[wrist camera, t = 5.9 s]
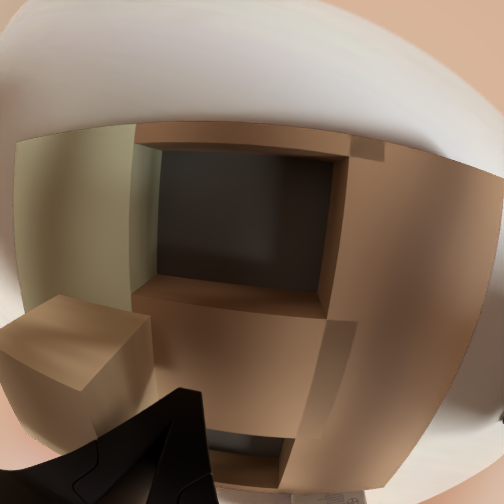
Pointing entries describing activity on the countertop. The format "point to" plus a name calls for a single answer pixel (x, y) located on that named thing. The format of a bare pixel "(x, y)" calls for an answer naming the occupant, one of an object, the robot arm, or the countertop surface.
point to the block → (76, 370)
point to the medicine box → (330, 498)
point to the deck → (271, 280)
